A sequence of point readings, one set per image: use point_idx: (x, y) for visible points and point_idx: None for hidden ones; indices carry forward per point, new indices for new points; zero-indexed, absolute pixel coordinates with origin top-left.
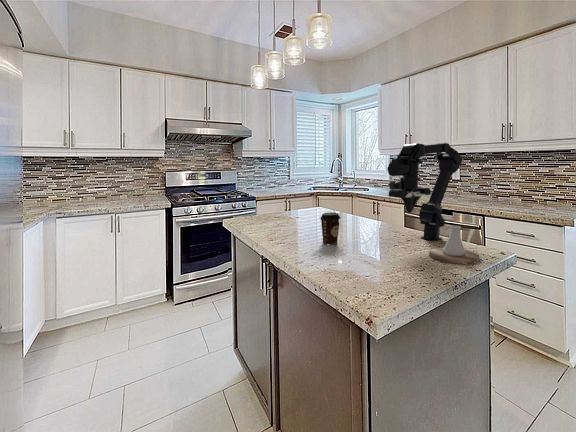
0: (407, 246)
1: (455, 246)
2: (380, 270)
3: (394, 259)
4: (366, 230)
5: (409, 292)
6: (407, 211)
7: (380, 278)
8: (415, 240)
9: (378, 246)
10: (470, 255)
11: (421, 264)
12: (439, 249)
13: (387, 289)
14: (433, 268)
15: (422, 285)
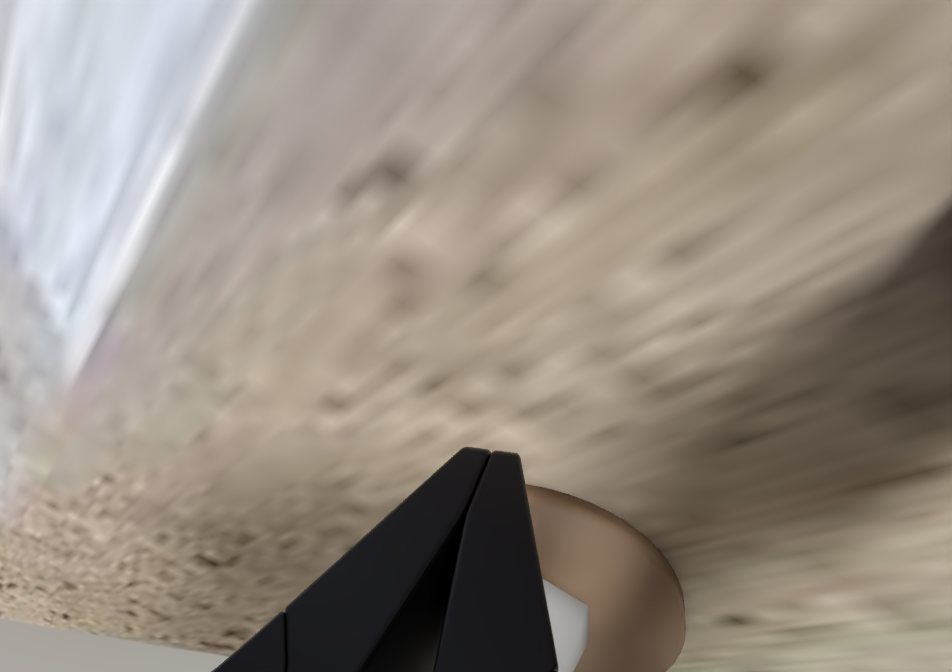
0: (472, 273)
1: None
2: (33, 466)
3: (166, 417)
4: None
5: (69, 604)
6: (440, 483)
7: (10, 509)
8: (823, 135)
9: (200, 99)
10: (578, 668)
11: (261, 535)
12: (539, 533)
13: (10, 562)
14: (277, 583)
15: (132, 610)
